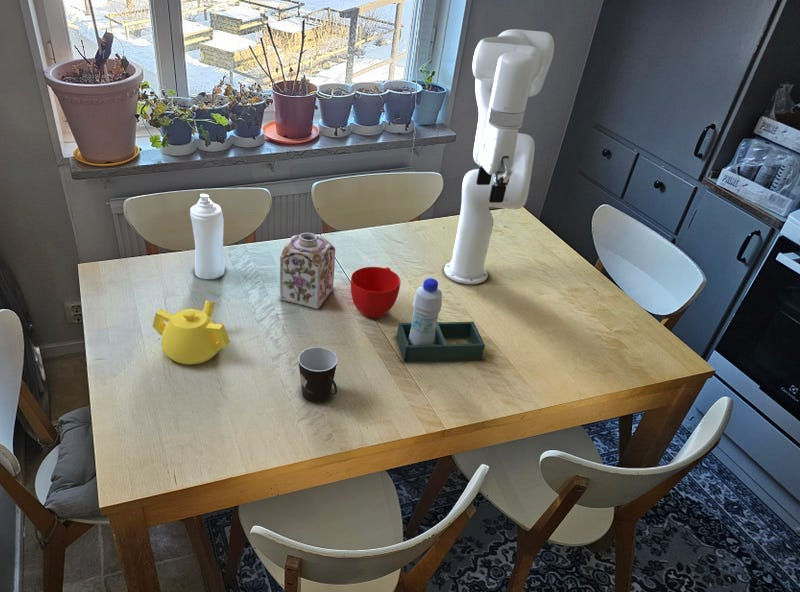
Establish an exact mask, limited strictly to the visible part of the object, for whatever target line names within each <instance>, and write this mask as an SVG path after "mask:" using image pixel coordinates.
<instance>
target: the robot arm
mask: <svg viewBox="0 0 800 592" xmlns="http://www.w3.org/2000/svg"><path fill="white" fill-rule="evenodd" d="M554 53H555V41H554V38H553V35H552V34H550V33H549V32H546V31H540V30H526V29H517V28H515V29H513V28H512V29H511V28H510V29H506V30H504V31H502V32H501V33H499V34H498V35H497V36H492V37H484V38H482V39H480V40H479V42H478V43H477V45H476V48H475V50H474V54H473V57H472V58H473V59H472V68H471V69H472V74H473V76H474V78H475V79H474V80H475V81H474V82H475V83H474V92H475V100H476V104H477V105H476V106H477V109H478V120H477V126H476V132H475V138H474V145H473V152H472V153H473V154H472V157H473V161H474V163H475V164H477V165H478V166H479V167H478V168H474V169H472V170H468V172H466V173H465V175H464V176H463V180H462V187H461V204H460V213H459V219H458V225H457V230H456V235H455V241H454V245H453V251H452V257H451V261H450V262H449V261H448V262H447V264H445V266H444V274H445V276H446V277H447V278H448V279H450V280H452V281H454V282H456V283H459V284H464V285H478V284H481V283H483V282H485V281H486V280H487V278H488V274H489V272H488V270H487V269H486V267H485V264H486V259H487V255H488V250H489V246H490V242H491V237H492V233H493V229H494V223H495V222H494V221H495V220H494V216H493V214H492V211H491V210H490V208H497V209H506V210H514V211H515V210H517V211H518V210H520V209H523V207H524V206H525V205H526V203H527V201H528V197H529V192H530V185H531V178H532V172H533V165H534V159H535V152H536V151H535V150H536V145H535V140H534V138H533V137H532V136H531V135H529V134H526V133H523V132H522V133H521V132H519V129H521V128H522V126H523V120H524V117H525V112H526V109H527V103H528V100H529V98H531V97H535V96H537V95H538V94H539V93H540V92H541V90H542V88H543V86H544V83H545V81H546V79H547V74H548V72H549V70H550V68H551V64H552V60H553V58H554Z"/></svg>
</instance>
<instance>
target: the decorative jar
mask: <svg viewBox="0 0 800 592" xmlns="http://www.w3.org/2000/svg"><path fill="white" fill-rule="evenodd" d="M335 265H336V247H335V246H334V245H333V244H332V243H331V242H330V241H329V240H328V239H326V237H324V236H321V235H317V234H315V233H314V232H313V233H312V232H303V233H300V234H296V235H292V236H291V237H290V238H289V239H287V241H286V242H285V244H284V246H283V249H282V251H281V253H280V256H279V299H280V300H281V301H285V302H289V303H292V304H296V305H300V306H303V307H308V308H312V309H317V310H318V309H319V308H320V307H321V305H322V304H323V303H324V301H325V300H326V299H327V298H328V296H329V295H330V293H332V291H333V290H334V283H335Z"/></svg>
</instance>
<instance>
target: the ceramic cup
mask: <svg viewBox="0 0 800 592" xmlns="http://www.w3.org/2000/svg"><path fill="white" fill-rule="evenodd" d="M401 283H402V282H401V278H400V276H399V274H397V273H396V272H395V271H393V270H391V268H390V267H389V266H388V267H387V266H386V267H381V266H365V267H361V268H359V269H356V270H354V272H353V273H352V274H351V276H350V294H351V299H352V303H353V304H354V306H355V308H356V309H357V310H358V311H359V313H360V314H361V315H362V316H364V317H366V318H370V319H378V318H380V317H381V318H382V316H384V315H386V314H387V313H388V312H389V311H390V310H391V309H392V308H393V307H394V305H395V303H396V302H397V298H398V296H399V293H400V288H401Z"/></svg>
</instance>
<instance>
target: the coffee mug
mask: <svg viewBox="0 0 800 592" xmlns="http://www.w3.org/2000/svg"><path fill="white" fill-rule="evenodd" d="M338 361H339V359H338V355H337V354H336V353H335V351H333V350H332V349H330V348H327V347H323V346H311V347H308V348H305V349H303V350H302V351H301V352H299V354H298V357H297V362H298V371H299V379H300V386H301V394H302V397H303V398H304V399H305V400H306V401H307V402H309V403H314V404H321V403H324V402H326V401H328V400H329V399H330V397H332V396H335V395H336V394H337V393H338V385H337V383H336V381H335V380H334V379H335V375H336V370H337V366H338V363H339V362H338ZM333 387H334V391H333V392H332V390H333Z"/></svg>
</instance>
